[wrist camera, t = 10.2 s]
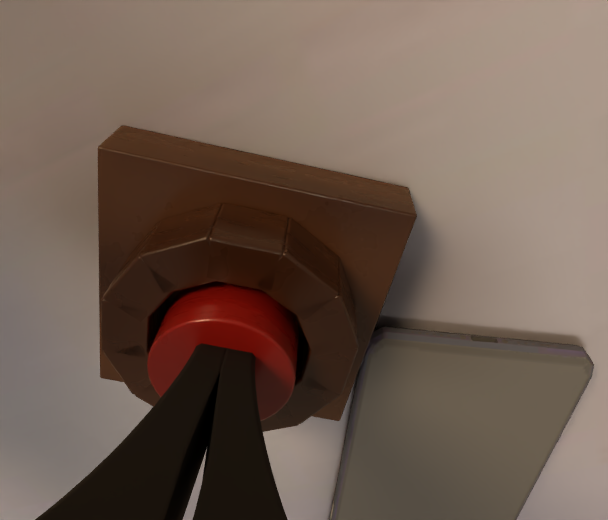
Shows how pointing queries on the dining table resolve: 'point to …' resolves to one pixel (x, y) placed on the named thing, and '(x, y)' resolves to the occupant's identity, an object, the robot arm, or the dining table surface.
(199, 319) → the button
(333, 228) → the button base
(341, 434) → the dining table surface
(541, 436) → the smartphone
